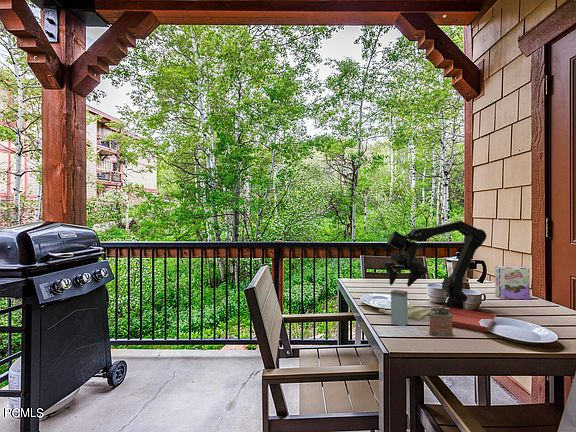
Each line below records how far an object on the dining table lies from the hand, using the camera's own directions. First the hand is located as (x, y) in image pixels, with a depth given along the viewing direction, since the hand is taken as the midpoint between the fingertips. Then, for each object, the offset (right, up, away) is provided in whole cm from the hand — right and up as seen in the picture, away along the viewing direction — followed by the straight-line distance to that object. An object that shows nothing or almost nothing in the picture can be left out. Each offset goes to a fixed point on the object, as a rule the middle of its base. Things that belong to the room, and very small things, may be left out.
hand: (399, 285), depth 131 cm
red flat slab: (+24, -14, -8) cm, 29 cm away
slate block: (-3, -13, -9) cm, 16 cm away
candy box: (+71, -14, +31) cm, 79 cm away
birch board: (+5, -14, +7) cm, 16 cm away
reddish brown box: (+8, -13, -21) cm, 26 cm away
